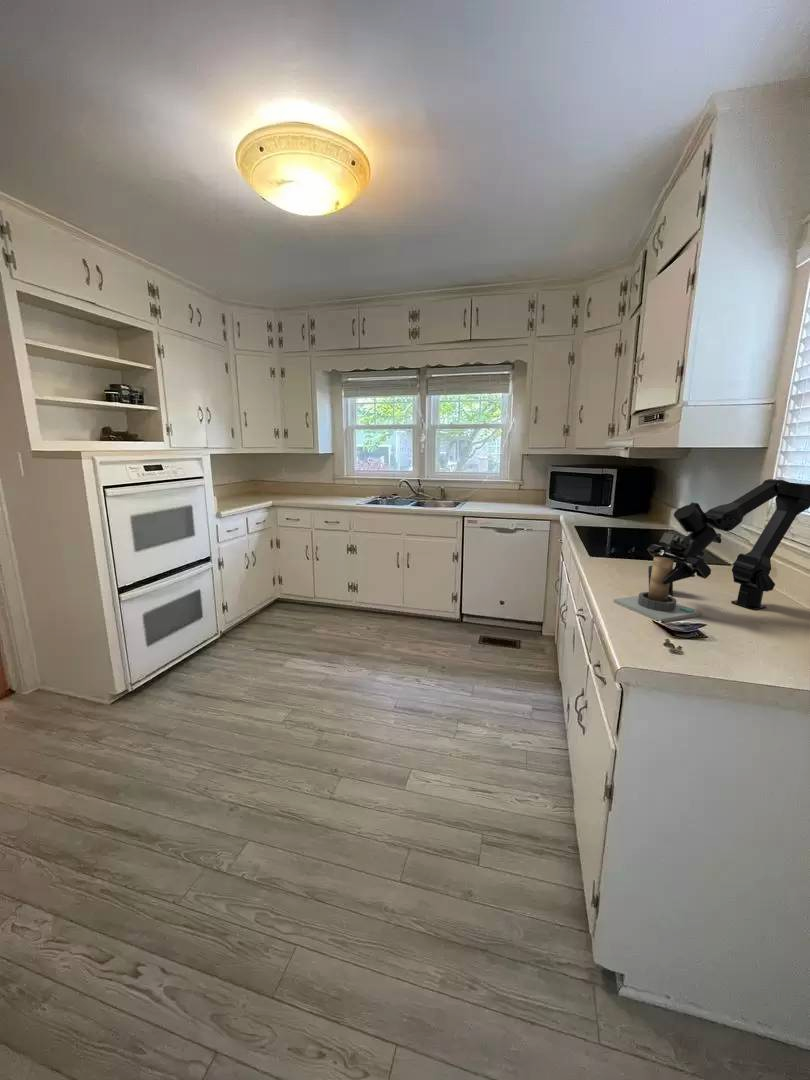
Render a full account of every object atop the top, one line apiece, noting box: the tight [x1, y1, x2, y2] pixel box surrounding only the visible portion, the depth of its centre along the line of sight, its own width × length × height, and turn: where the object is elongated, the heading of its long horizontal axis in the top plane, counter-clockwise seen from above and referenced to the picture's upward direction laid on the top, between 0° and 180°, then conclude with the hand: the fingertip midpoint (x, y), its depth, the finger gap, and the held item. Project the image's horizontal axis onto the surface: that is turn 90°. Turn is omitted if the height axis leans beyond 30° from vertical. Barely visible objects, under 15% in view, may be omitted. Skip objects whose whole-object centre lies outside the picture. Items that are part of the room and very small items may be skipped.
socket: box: [613, 591, 702, 622], centre depth 126 cm, size 16×16×4 cm
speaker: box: [647, 564, 674, 597], centre depth 141 cm, size 8×6×10 cm
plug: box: [647, 557, 675, 602], centre depth 125 cm, size 5×5×13 cm
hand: (656, 580), depth 125 cm, fingers closed on plug, 5 cm apart
